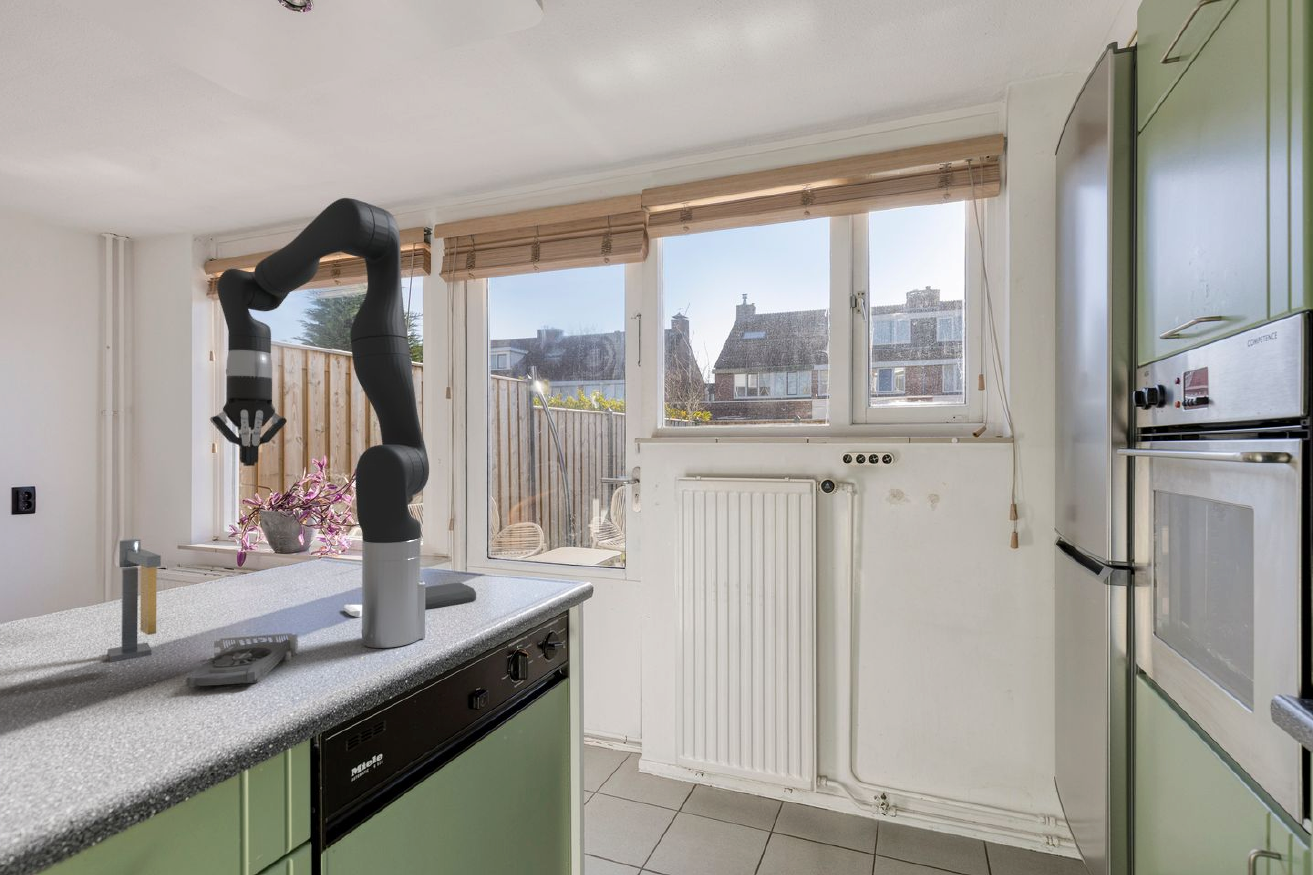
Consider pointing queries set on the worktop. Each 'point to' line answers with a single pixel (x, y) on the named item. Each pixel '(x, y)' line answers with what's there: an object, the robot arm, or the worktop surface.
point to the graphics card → (244, 660)
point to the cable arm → (143, 579)
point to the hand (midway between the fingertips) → (249, 465)
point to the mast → (129, 620)
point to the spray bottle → (434, 597)
